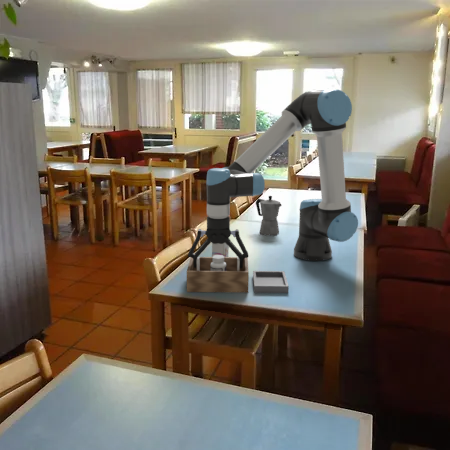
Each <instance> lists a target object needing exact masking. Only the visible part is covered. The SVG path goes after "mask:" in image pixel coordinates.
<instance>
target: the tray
mask: <svg viewBox="0 0 450 450" xmlns="http://www.w3.org/2000/svg"><path fill="white" fill-rule="evenodd" d="M287 279H288V278H287V276H286V272H285V270H253V271H252V281H253V291H254V293H256V294H257V293H261V294H262V293H263V294H267V293H268V294H271V293H272V294H288V293H289V288H290V287H289V283H288V280H287Z"/></svg>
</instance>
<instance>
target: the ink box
mask: <svg viewBox="0 0 450 450" xmlns="http://www.w3.org/2000/svg"><path fill="white" fill-rule="evenodd" d="M229 248H230V247H229V246H228V245H227V244H226V243H223V244H219V243H217V244H213V243H212V242H211V257H213V256H214V255H223V256H224V257H229Z"/></svg>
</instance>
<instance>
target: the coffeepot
mask: <svg viewBox="0 0 450 450" xmlns="http://www.w3.org/2000/svg"><path fill="white" fill-rule="evenodd" d="M272 198H273V196H272V195H268V199H263V198H262V199H261V198H258V199H256V201H255V207H256V209H257V210H256V211H257V215H258V216H260V217H262V219H261V223H260V228H259V234H261V235H263V236H277V235H279V233H280V229H279V221H278V216H279V210H280V207H282V204H281V202H280V201H278V200H275V199H272Z"/></svg>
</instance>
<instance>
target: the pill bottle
mask: <svg viewBox="0 0 450 450" xmlns="http://www.w3.org/2000/svg"><path fill="white" fill-rule="evenodd" d="M211 257H212V256H211ZM212 261H213V262H212V263H211V266H210V267H211V271H226V263H225V262H224V256H223V255H214V256H213V257H212Z"/></svg>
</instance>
